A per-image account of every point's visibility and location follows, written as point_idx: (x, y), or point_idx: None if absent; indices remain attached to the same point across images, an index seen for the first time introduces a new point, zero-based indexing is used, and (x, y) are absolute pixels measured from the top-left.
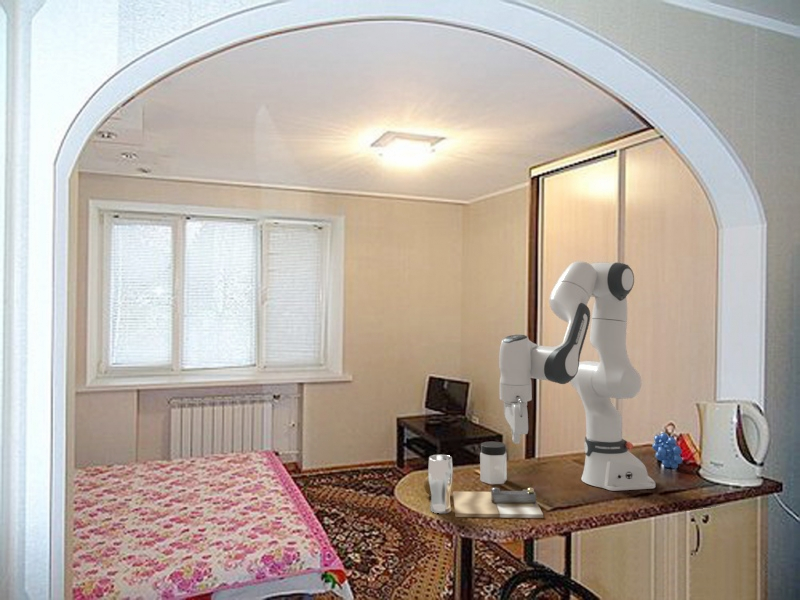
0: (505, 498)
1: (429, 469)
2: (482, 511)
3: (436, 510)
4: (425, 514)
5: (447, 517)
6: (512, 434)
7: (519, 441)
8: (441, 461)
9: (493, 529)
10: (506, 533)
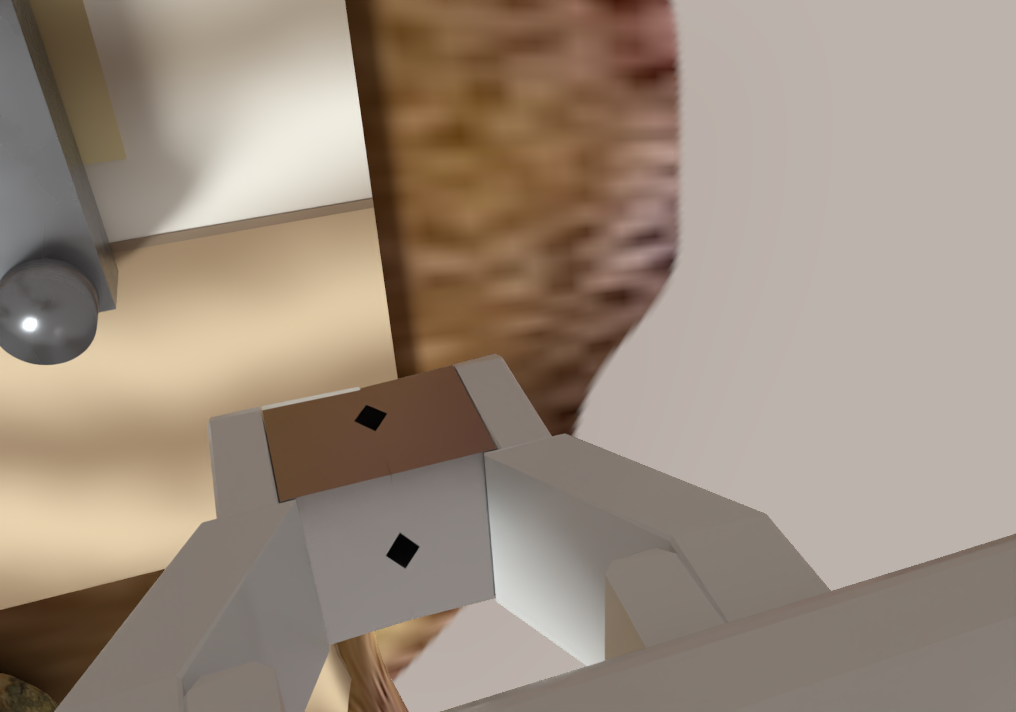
0: (80, 176)
1: None
2: (343, 339)
3: None
4: (392, 651)
5: None
6: (314, 671)
7: (516, 388)
8: None
9: (610, 219)
10: (679, 122)
